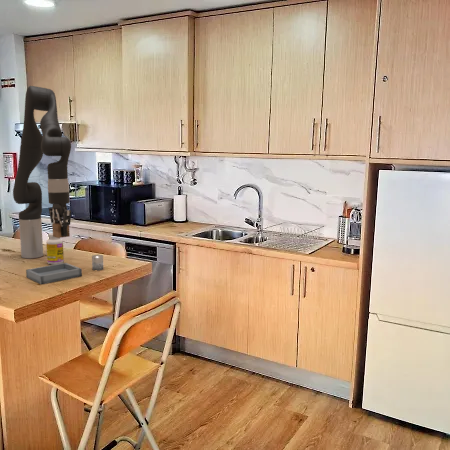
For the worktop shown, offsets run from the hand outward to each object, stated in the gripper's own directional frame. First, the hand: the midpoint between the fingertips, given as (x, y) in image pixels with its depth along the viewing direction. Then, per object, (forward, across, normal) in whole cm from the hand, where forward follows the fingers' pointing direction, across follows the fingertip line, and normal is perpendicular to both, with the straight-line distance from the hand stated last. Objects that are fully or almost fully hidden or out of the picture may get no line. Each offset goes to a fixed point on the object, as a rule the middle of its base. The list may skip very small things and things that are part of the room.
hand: (61, 235), depth 182 cm
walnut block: (+1, 0, 0) cm, 1 cm away
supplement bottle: (+16, +20, -7) cm, 26 cm away
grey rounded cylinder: (+16, -1, -14) cm, 21 cm away
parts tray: (+16, 0, +4) cm, 16 cm away
